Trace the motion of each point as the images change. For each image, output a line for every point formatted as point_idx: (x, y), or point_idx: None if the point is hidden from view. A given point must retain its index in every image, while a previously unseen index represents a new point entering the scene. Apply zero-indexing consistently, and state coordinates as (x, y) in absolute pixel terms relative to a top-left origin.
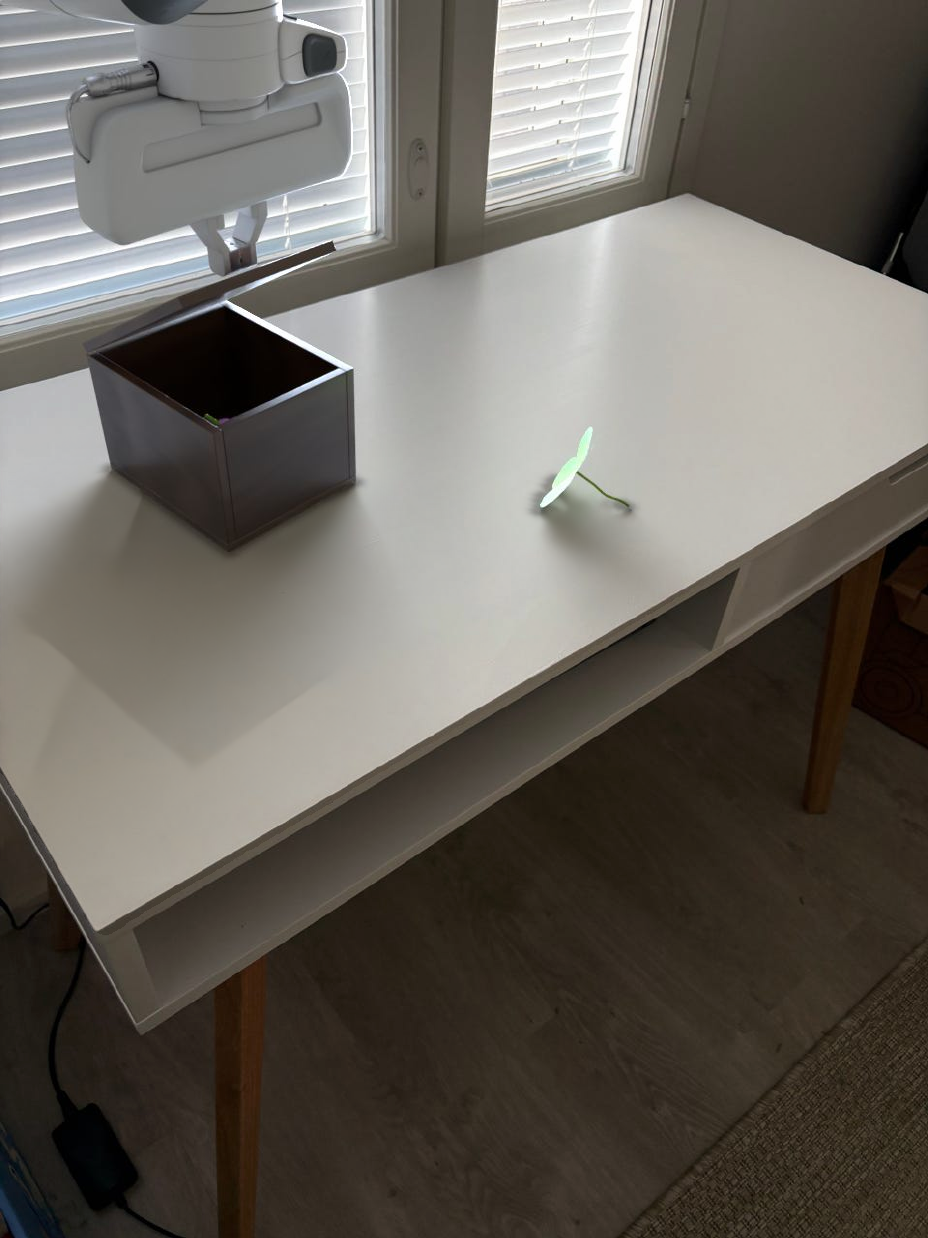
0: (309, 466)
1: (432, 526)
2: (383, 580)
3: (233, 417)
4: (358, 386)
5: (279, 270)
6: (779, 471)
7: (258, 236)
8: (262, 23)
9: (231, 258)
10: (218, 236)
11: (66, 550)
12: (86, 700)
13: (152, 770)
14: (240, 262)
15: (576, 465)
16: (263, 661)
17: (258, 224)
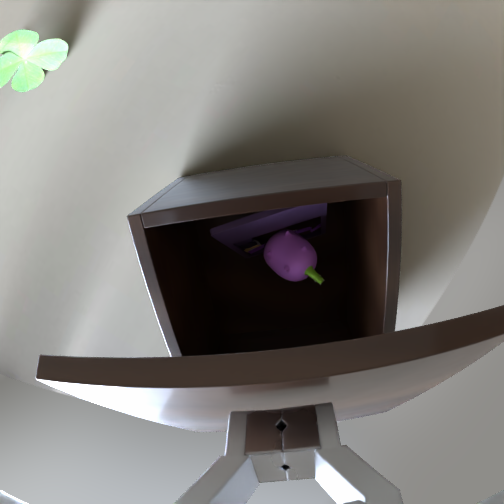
0: (236, 175)
1: (158, 75)
2: (249, 35)
3: (287, 269)
4: (103, 307)
5: (209, 358)
6: None
7: (214, 465)
8: None
9: (313, 433)
10: (364, 483)
11: (436, 246)
12: (495, 96)
13: (485, 21)
14: (280, 422)
15: (18, 66)
16: (394, 28)
17: (208, 492)
